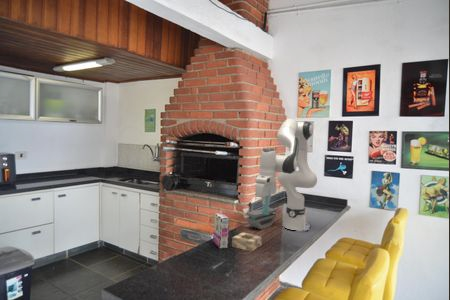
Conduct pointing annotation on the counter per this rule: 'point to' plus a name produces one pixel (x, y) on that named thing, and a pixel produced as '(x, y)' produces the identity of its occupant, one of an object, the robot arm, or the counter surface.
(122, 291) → the counter surface
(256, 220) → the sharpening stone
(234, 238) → the socket block
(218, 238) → the candy bar box
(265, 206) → the peg
